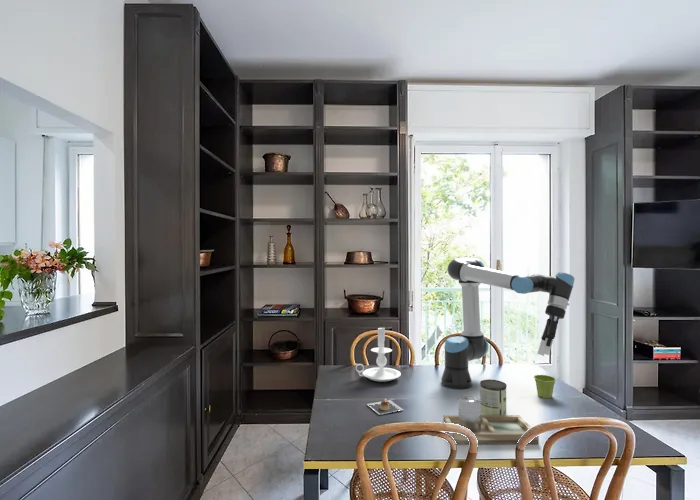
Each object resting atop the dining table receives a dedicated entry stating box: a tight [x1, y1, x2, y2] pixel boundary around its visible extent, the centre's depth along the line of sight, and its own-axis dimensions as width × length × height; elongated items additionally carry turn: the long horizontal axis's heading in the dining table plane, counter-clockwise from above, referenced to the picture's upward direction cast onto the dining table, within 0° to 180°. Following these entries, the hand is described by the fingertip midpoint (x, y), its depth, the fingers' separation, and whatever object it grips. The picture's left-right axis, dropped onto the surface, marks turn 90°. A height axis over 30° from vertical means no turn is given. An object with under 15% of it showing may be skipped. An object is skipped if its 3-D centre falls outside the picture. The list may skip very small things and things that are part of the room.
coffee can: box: [479, 379, 507, 415], centre depth 161 cm, size 10×10×14 cm
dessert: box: [366, 398, 404, 416], centre depth 170 cm, size 12×12×5 cm
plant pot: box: [533, 374, 557, 399], centre depth 184 cm, size 9×9×9 cm
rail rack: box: [443, 414, 540, 445], centre depth 147 cm, size 16×30×4 cm, turn 90°
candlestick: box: [354, 326, 402, 383], centre depth 208 cm, size 21×25×28 cm
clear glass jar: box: [458, 396, 481, 433], centre depth 147 cm, size 8×8×11 cm
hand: (542, 354), depth 167 cm, fingers open, 13 cm apart
